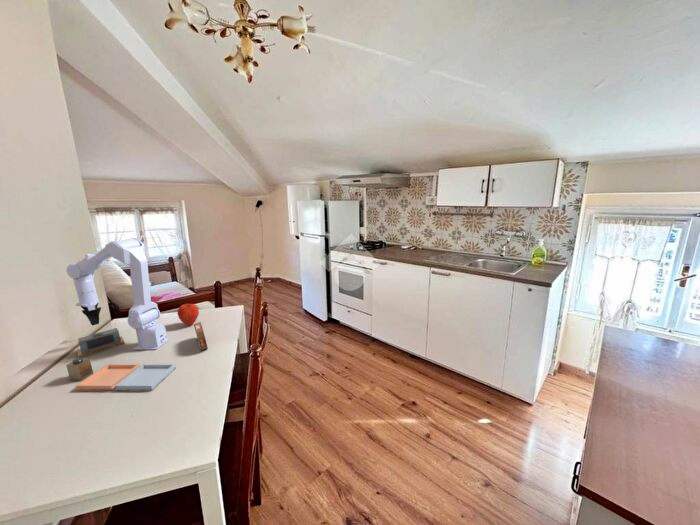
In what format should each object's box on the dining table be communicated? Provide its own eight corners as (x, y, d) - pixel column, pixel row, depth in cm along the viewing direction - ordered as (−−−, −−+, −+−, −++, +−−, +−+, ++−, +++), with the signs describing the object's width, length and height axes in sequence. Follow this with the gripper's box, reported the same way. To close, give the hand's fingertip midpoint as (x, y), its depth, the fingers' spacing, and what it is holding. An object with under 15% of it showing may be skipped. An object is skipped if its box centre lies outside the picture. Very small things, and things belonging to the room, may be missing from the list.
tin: (208, 351, 108) (205, 332, 106) (199, 354, 106) (196, 334, 104) (204, 336, 120) (201, 318, 118) (196, 338, 119) (193, 320, 117)
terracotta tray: (140, 368, 98) (139, 363, 98) (112, 390, 87) (110, 385, 86) (109, 368, 98) (108, 364, 98) (77, 390, 87) (75, 385, 87)
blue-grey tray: (176, 368, 97) (175, 363, 97) (152, 390, 86) (151, 385, 86) (144, 368, 98) (143, 363, 98) (116, 390, 87) (115, 385, 86)
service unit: (125, 343, 115) (121, 330, 114) (79, 358, 106) (75, 344, 104) (122, 338, 120) (119, 325, 119) (77, 351, 110) (74, 338, 109)
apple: (203, 320, 136) (200, 300, 133) (195, 328, 127) (191, 307, 125) (185, 321, 135) (182, 301, 133) (176, 329, 127) (172, 307, 125)
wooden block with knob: (93, 373, 96) (88, 356, 94) (82, 380, 92) (77, 363, 90) (82, 373, 96) (77, 356, 94) (70, 380, 92) (65, 363, 91)
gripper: (72, 290, 115) (80, 320, 118) (74, 298, 105) (82, 330, 108) (94, 286, 120) (101, 314, 123) (98, 293, 110) (106, 324, 113)
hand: (94, 321), depth 116 cm, fingers open, 7 cm apart
